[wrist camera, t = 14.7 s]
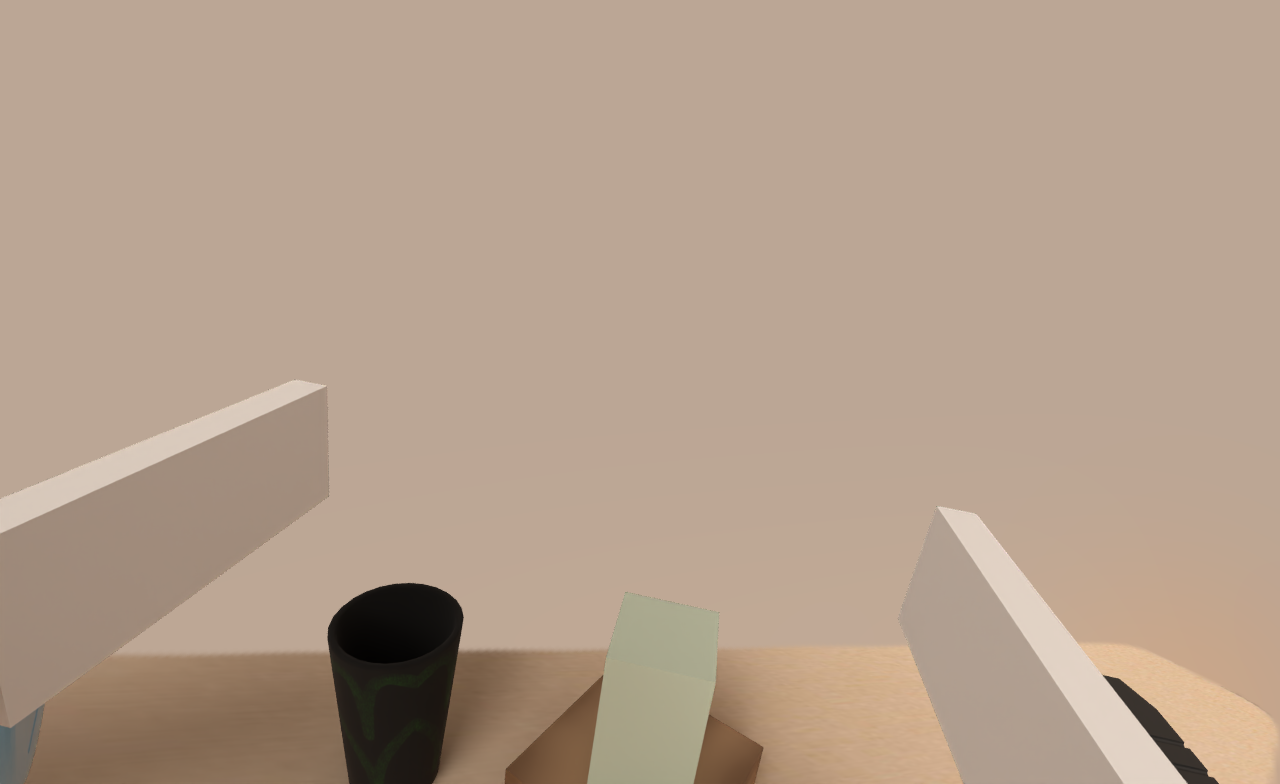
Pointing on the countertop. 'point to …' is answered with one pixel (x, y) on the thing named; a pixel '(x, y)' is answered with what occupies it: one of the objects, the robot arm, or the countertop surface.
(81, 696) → the countertop surface
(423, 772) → the cup
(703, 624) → the sage block
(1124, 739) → the robot arm
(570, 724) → the walnut block
